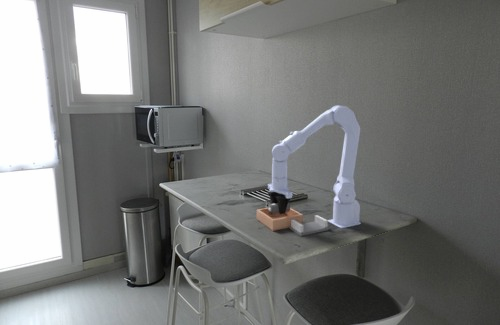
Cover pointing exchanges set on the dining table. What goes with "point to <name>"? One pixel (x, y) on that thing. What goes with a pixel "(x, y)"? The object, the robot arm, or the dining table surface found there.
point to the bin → (278, 219)
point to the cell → (276, 208)
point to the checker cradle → (309, 226)
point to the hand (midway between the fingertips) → (279, 211)
